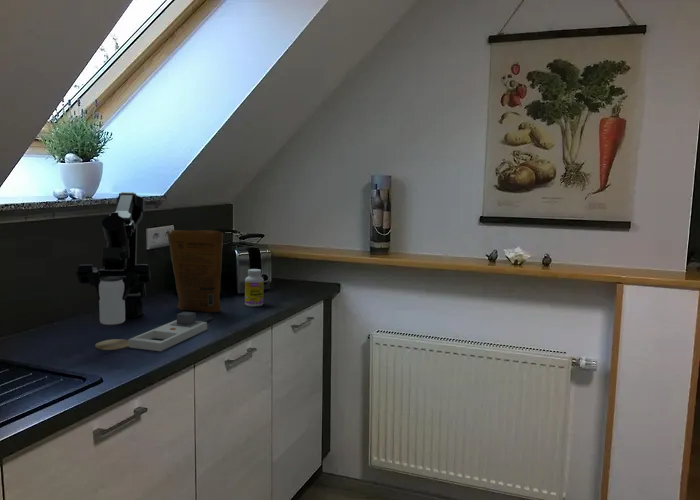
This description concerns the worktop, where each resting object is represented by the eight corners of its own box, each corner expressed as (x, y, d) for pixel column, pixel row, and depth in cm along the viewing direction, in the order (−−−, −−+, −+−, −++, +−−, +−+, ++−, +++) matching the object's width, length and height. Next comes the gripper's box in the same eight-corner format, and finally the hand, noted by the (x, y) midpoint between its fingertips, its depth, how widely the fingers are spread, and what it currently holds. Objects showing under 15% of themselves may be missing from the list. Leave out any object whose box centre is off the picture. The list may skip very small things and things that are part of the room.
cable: (198, 327, 185) (198, 324, 185) (195, 327, 186) (195, 323, 185) (213, 319, 196) (213, 316, 195) (210, 319, 196) (210, 316, 196)
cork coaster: (87, 347, 162) (87, 346, 162) (110, 339, 170) (110, 337, 170) (116, 351, 159) (116, 350, 159) (137, 342, 168) (137, 341, 168)
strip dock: (128, 347, 163) (128, 338, 163) (178, 326, 186) (178, 318, 186) (160, 351, 161) (160, 342, 160) (207, 329, 183) (207, 321, 183)
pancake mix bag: (219, 314, 202) (218, 231, 198) (167, 310, 206) (166, 228, 202) (227, 310, 208) (227, 229, 205) (177, 306, 213) (176, 227, 209)
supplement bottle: (248, 307, 213) (248, 271, 211) (242, 303, 219) (242, 268, 217) (266, 306, 216) (266, 270, 214) (260, 302, 222) (260, 268, 220)
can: (110, 326, 160) (109, 282, 158) (94, 322, 163) (93, 279, 161) (130, 321, 165) (129, 278, 164) (114, 317, 169) (113, 275, 167)
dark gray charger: (176, 324, 180) (176, 314, 179) (184, 321, 184) (184, 311, 183) (188, 325, 179) (188, 315, 178) (195, 322, 182) (195, 312, 182)
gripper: (76, 235, 163) (68, 283, 154) (148, 235, 167) (145, 282, 158) (83, 259, 171) (76, 306, 162) (152, 258, 175) (148, 304, 166)
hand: (111, 299), depth 162 cm, fingers closed on can, 6 cm apart
